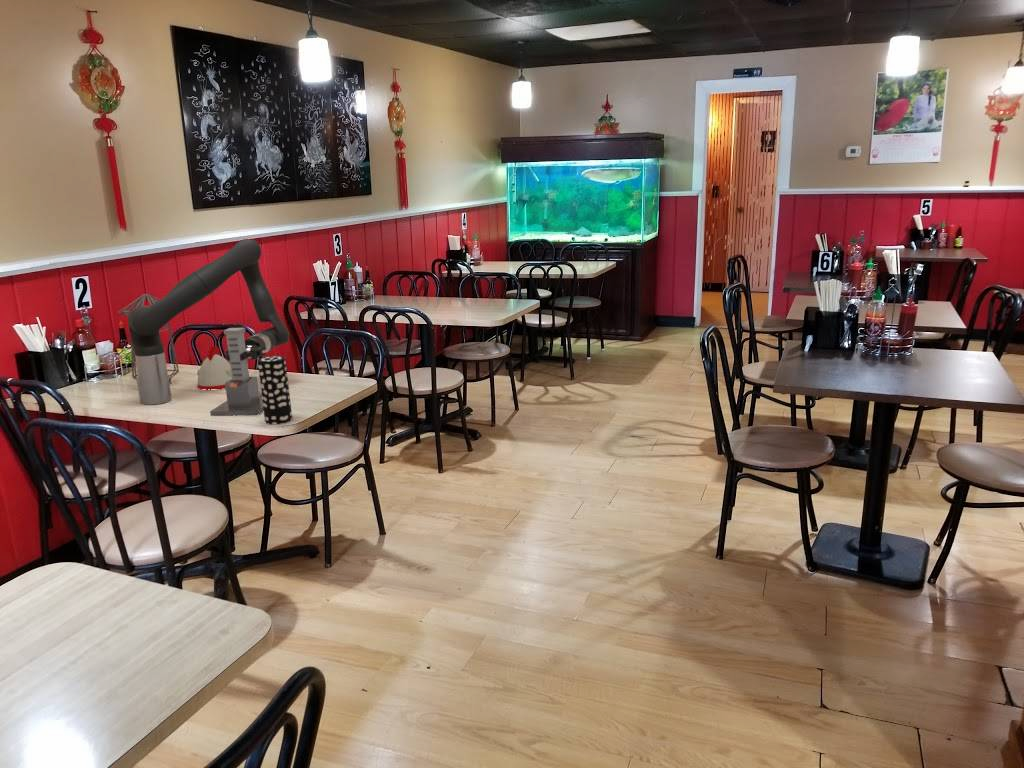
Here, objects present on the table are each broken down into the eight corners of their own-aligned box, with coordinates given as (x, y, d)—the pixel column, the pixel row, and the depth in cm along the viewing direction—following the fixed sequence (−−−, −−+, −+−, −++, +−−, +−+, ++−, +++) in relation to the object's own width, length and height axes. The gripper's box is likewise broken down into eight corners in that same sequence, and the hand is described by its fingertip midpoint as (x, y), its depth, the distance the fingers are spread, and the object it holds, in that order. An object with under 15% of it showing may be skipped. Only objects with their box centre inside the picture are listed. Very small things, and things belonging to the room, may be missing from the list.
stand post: (232, 399, 251) (223, 330, 245) (238, 395, 256) (229, 328, 250) (247, 399, 251) (238, 330, 245) (253, 395, 255) (245, 327, 249)
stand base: (210, 415, 248) (206, 386, 245) (232, 401, 263) (228, 373, 260) (257, 415, 246) (254, 385, 243) (277, 401, 261) (273, 373, 259)
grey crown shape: (243, 380, 292) (238, 342, 288) (227, 390, 278) (222, 350, 275) (208, 380, 293) (203, 342, 289) (191, 390, 280) (185, 350, 276)
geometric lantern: (147, 381, 296) (135, 291, 287) (187, 381, 295) (176, 291, 286) (126, 391, 280) (112, 297, 272) (168, 391, 280) (156, 297, 271)
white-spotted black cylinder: (270, 416, 244) (262, 356, 239) (295, 416, 244) (288, 355, 239) (261, 424, 236) (253, 362, 231) (287, 424, 236) (280, 361, 231)
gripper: (234, 335, 263) (211, 346, 247) (274, 335, 262) (253, 346, 245) (237, 357, 265) (214, 369, 249) (277, 356, 264) (256, 368, 247)
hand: (234, 357), depth 247 cm, fingers closed on stand post, 4 cm apart
